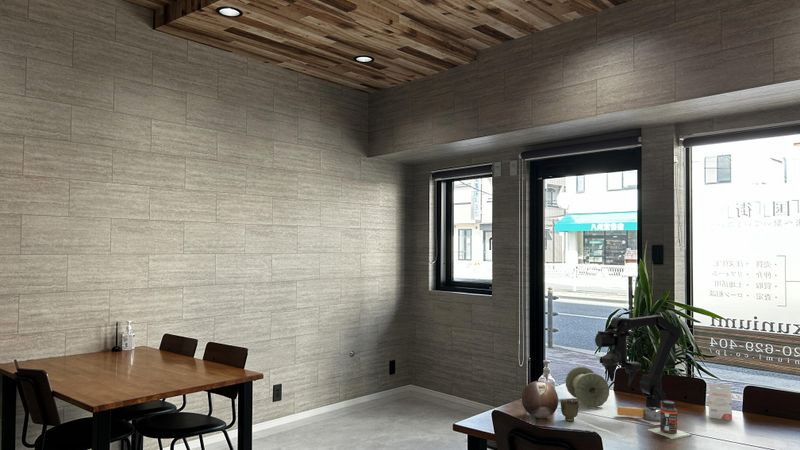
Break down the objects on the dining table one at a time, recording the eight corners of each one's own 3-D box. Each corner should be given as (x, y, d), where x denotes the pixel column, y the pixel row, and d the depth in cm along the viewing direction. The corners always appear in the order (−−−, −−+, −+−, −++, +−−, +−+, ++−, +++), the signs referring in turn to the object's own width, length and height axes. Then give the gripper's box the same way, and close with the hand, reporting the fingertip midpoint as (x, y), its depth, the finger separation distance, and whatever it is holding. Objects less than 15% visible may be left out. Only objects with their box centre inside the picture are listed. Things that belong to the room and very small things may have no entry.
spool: (609, 407, 258) (609, 374, 259) (575, 407, 258) (575, 373, 259) (597, 398, 275) (597, 366, 275) (565, 398, 275) (565, 366, 276)
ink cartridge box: (731, 418, 243) (731, 383, 244) (732, 421, 239) (731, 385, 240) (708, 415, 247) (708, 381, 248) (708, 418, 243) (708, 383, 244)
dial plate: (651, 415, 247) (651, 414, 247) (676, 422, 236) (675, 421, 236) (631, 418, 242) (631, 417, 242) (655, 426, 231) (655, 424, 231)
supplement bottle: (670, 434, 217) (670, 404, 218) (656, 430, 223) (656, 400, 223) (680, 433, 220) (680, 402, 221) (667, 428, 226) (667, 399, 226)
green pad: (666, 427, 229) (666, 426, 229) (691, 435, 219) (691, 434, 219) (646, 431, 224) (646, 429, 224) (670, 439, 214) (670, 437, 214)
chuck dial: (661, 417, 242) (661, 405, 242) (665, 422, 234) (665, 410, 234) (616, 414, 246) (616, 402, 246) (618, 419, 238) (618, 407, 238)
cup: (580, 424, 232) (580, 404, 232) (561, 423, 234) (561, 403, 234) (578, 419, 239) (578, 399, 240) (559, 417, 241) (559, 398, 241)
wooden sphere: (530, 423, 232) (530, 385, 233) (515, 413, 247) (515, 378, 248) (565, 421, 235) (564, 384, 236) (548, 411, 250) (548, 376, 251)
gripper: (590, 344, 255) (590, 380, 254) (622, 351, 238) (623, 389, 237) (608, 343, 260) (609, 378, 259) (642, 349, 243) (642, 387, 242)
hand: (620, 383), depth 249 cm, fingers open, 9 cm apart
